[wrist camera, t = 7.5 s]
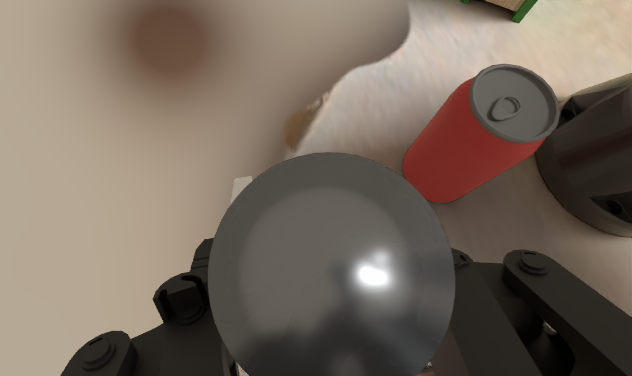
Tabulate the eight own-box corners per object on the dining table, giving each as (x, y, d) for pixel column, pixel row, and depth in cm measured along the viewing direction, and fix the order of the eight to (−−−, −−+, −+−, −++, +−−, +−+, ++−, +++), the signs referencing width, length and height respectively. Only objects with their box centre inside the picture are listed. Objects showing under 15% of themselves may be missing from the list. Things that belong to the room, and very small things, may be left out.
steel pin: (341, 237, 17) (418, 138, 6) (356, 313, 16) (489, 378, 5) (269, 249, 17) (200, 169, 5) (279, 328, 16) (217, 438, 4)
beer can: (386, 165, 30) (440, 89, 19) (434, 130, 32) (510, 39, 20) (433, 218, 29) (522, 171, 17) (481, 178, 30) (591, 111, 19)
